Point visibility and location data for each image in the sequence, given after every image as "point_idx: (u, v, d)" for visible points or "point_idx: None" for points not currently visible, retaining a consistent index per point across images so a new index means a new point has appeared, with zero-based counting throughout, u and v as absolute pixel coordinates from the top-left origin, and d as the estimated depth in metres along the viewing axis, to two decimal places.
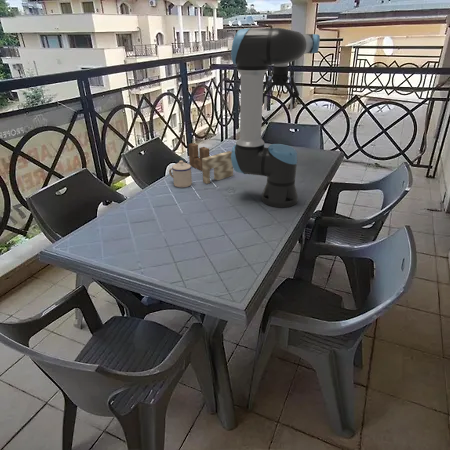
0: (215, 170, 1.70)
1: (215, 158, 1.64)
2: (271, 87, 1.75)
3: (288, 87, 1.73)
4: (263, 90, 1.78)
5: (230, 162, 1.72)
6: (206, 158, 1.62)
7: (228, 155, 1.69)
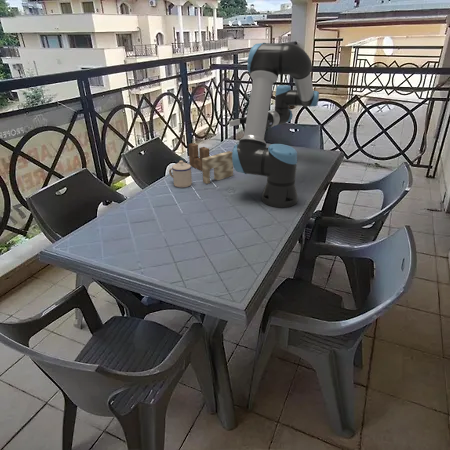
0: (215, 170, 1.70)
1: (215, 158, 1.64)
2: None
3: None
4: None
5: (230, 162, 1.72)
6: (206, 158, 1.62)
7: (228, 155, 1.69)
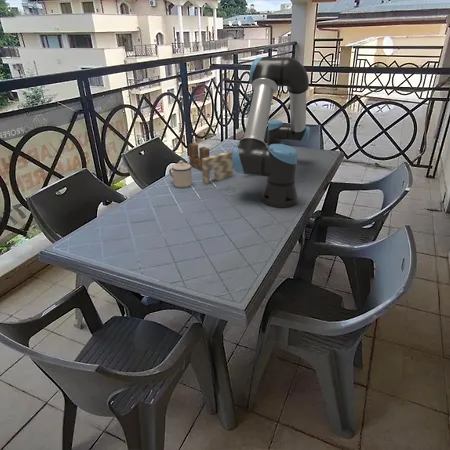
0: (215, 170, 1.70)
1: (215, 158, 1.64)
2: None
3: None
4: None
5: (230, 162, 1.72)
6: (206, 158, 1.62)
7: (228, 155, 1.69)
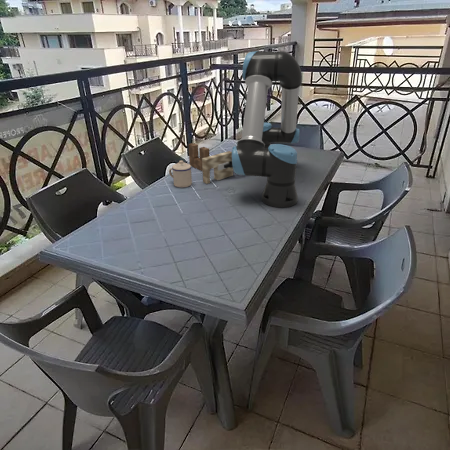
0: (215, 170, 1.70)
1: (215, 158, 1.64)
2: None
3: None
4: None
5: None
6: (206, 158, 1.63)
7: (228, 155, 1.69)
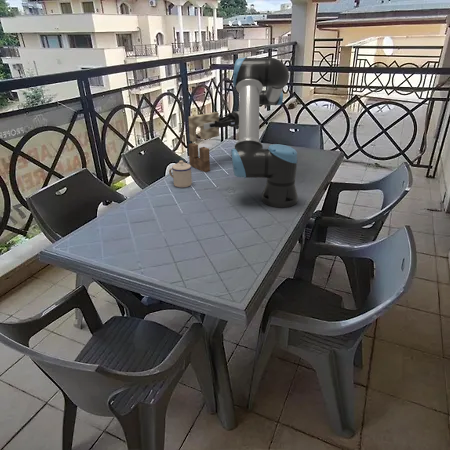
0: (201, 130, 1.78)
1: (201, 117, 1.73)
2: None
3: (223, 120, 1.82)
4: None
5: None
6: (192, 116, 1.71)
7: (214, 115, 1.77)
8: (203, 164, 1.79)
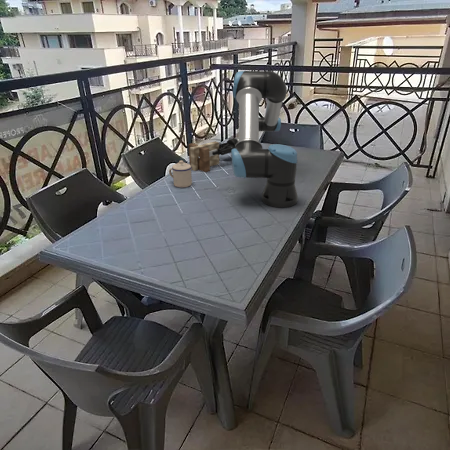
0: None
1: None
2: None
3: (224, 147, 1.88)
4: None
5: None
6: (194, 147, 1.78)
7: (214, 145, 1.85)
8: (203, 164, 1.79)
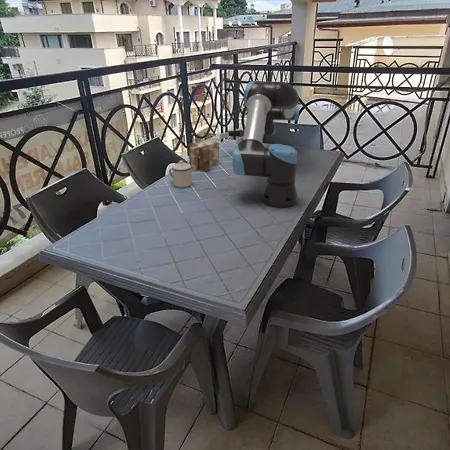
0: None
1: None
2: (237, 132, 1.99)
3: None
4: None
5: (216, 151, 1.88)
6: (194, 147, 1.78)
7: (214, 145, 1.85)
8: (203, 164, 1.79)
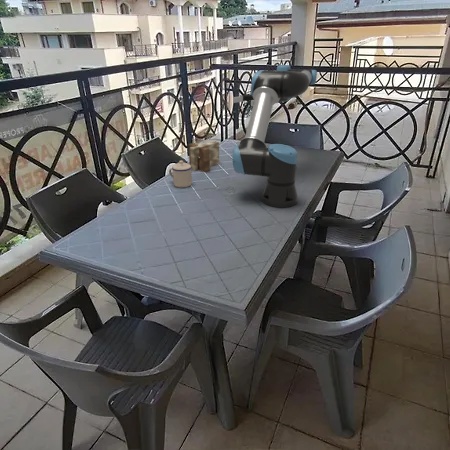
0: None
1: None
2: (252, 96, 1.89)
3: None
4: None
5: (216, 151, 1.88)
6: (194, 147, 1.78)
7: (214, 145, 1.85)
8: (203, 164, 1.79)
